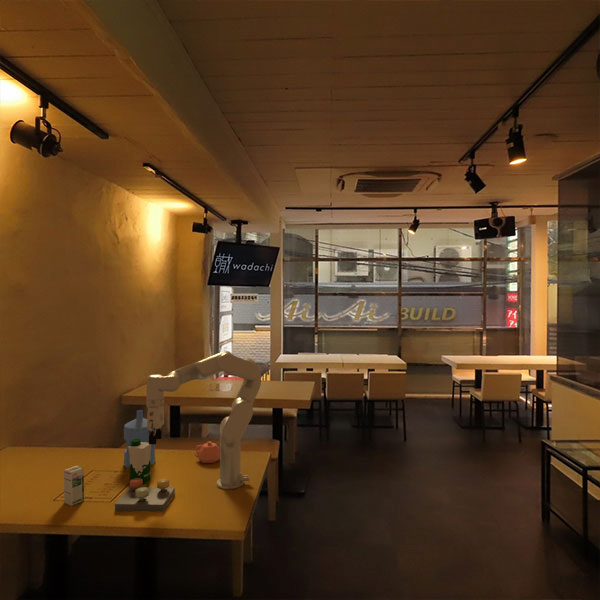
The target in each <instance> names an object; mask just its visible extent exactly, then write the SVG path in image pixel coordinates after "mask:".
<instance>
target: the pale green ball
mask: <svg viewBox="0 0 600 600" xmlns="http://www.w3.org/2000/svg"><path fill="white" fill-rule="evenodd" d="M147 487H148V486H142V487H141V488H138V489H136V498H140V502H144V498H145V497H147V496H148V495H149V489H148V488H147Z"/></svg>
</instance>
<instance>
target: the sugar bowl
mask: <svg viewBox="0 0 600 600" xmlns="http://www.w3.org/2000/svg"><path fill="white" fill-rule="evenodd" d="M198 448H199V450H198ZM195 451H196V453H195V454H194V457H196V458H197V459H198V460H199V462H201V463H202V464H215V463H216V462H219V461H220V446H218V444H217V443H215V442H212V441H207V442H206V443H203V444H198V445H196V447H195Z"/></svg>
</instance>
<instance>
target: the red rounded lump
mask: <svg viewBox="0 0 600 600" xmlns="http://www.w3.org/2000/svg"><path fill="white" fill-rule="evenodd" d="M142 485H143V480H142V479H141V478H135V479H132V480H130V485H129V488H132V489H134V492H136V489H138V488H140V487H143V486H142Z"/></svg>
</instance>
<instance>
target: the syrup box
mask: <svg viewBox="0 0 600 600" xmlns="http://www.w3.org/2000/svg"><path fill="white" fill-rule="evenodd" d="M84 475H85V472H84V467H82V466H80V465H74V466H72V467H69V468H66V469H64V470H63V498H64V499H63V500H64V503H65V504H66V505H69V506H71V507H74V505H77V504H79V503H82V502H84V501H85V476H84Z"/></svg>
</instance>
